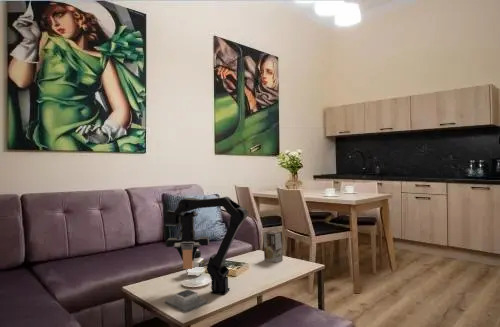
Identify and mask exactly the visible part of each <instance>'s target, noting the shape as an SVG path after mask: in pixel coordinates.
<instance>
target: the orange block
mask: <svg viewBox="0 0 500 327" xmlns="http://www.w3.org/2000/svg"><path fill="white" fill-rule="evenodd" d="M193 246H194V243H192V244H183V260H182V269H183V270H186V269H192V268H193V261H192V254H193Z"/></svg>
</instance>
